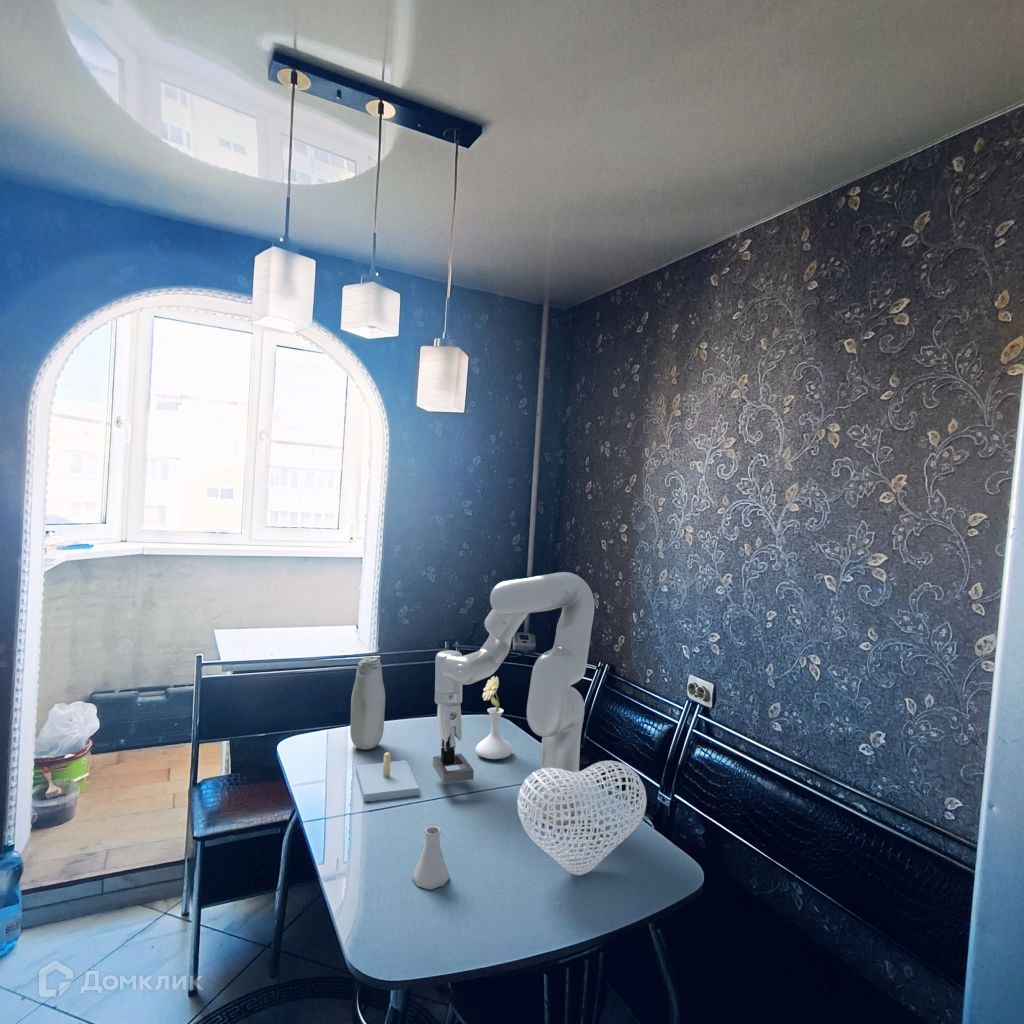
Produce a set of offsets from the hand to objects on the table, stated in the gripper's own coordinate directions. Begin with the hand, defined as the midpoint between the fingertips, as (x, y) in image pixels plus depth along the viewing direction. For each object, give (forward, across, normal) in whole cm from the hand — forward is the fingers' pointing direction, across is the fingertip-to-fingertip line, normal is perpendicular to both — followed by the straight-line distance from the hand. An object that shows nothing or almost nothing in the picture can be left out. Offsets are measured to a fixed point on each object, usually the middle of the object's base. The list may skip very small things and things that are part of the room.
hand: (447, 762), depth 170 cm
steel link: (+1, -5, 0) cm, 5 cm away
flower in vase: (+5, +12, -17) cm, 21 cm away
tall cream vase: (+4, +28, +19) cm, 33 cm away
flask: (+6, -44, +15) cm, 46 cm away
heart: (+6, -50, -15) cm, 53 cm away
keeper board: (+4, +2, +17) cm, 17 cm away
